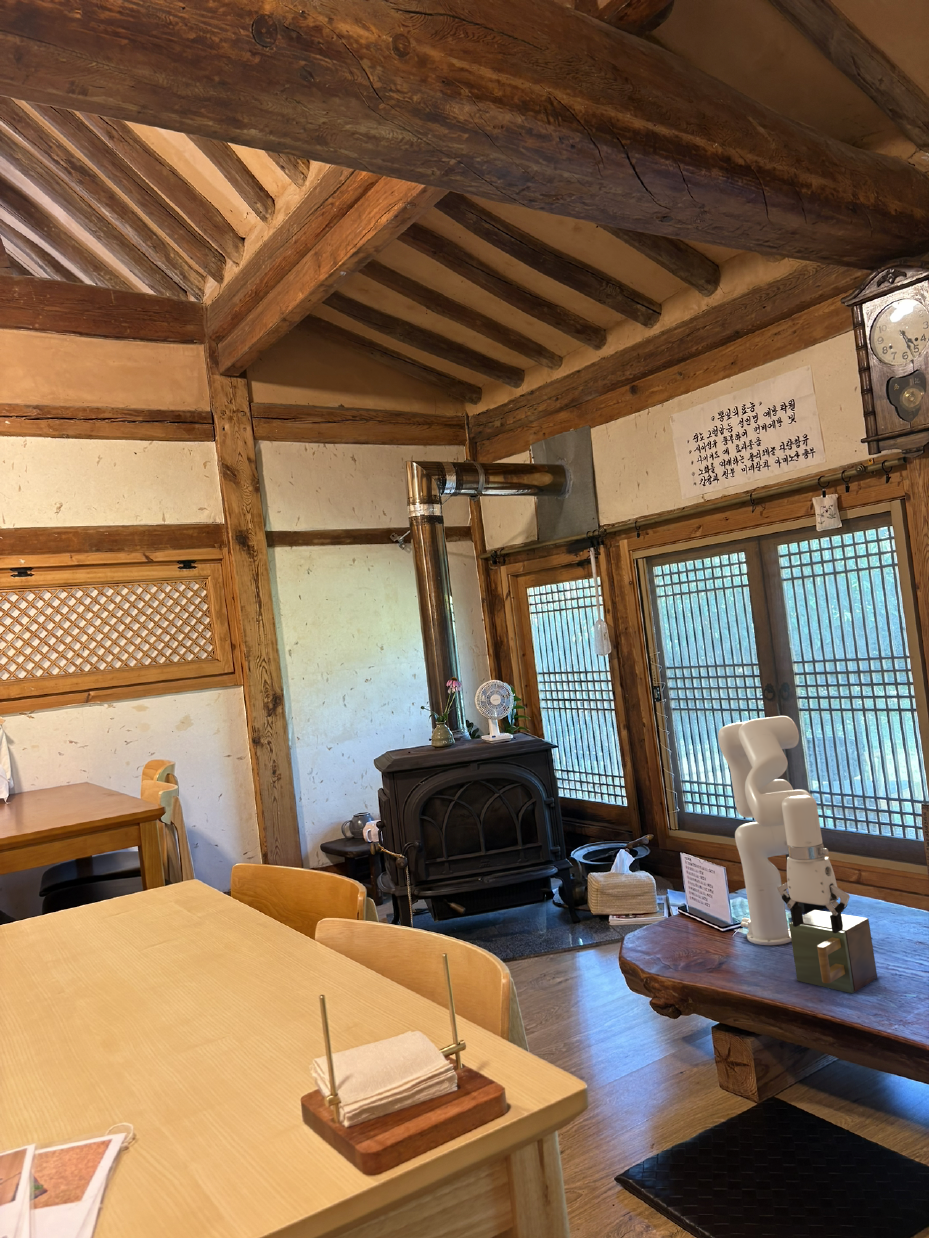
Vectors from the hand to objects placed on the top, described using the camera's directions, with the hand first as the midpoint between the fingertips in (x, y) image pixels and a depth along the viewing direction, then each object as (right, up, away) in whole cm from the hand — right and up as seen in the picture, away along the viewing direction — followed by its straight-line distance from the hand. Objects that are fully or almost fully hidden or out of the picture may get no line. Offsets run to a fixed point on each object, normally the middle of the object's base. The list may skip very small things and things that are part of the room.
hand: (817, 928), depth 201 cm
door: (+2, -17, +6) cm, 18 cm away
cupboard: (+9, -16, +11) cm, 22 cm away
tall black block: (+24, -17, +65) cm, 71 cm away
